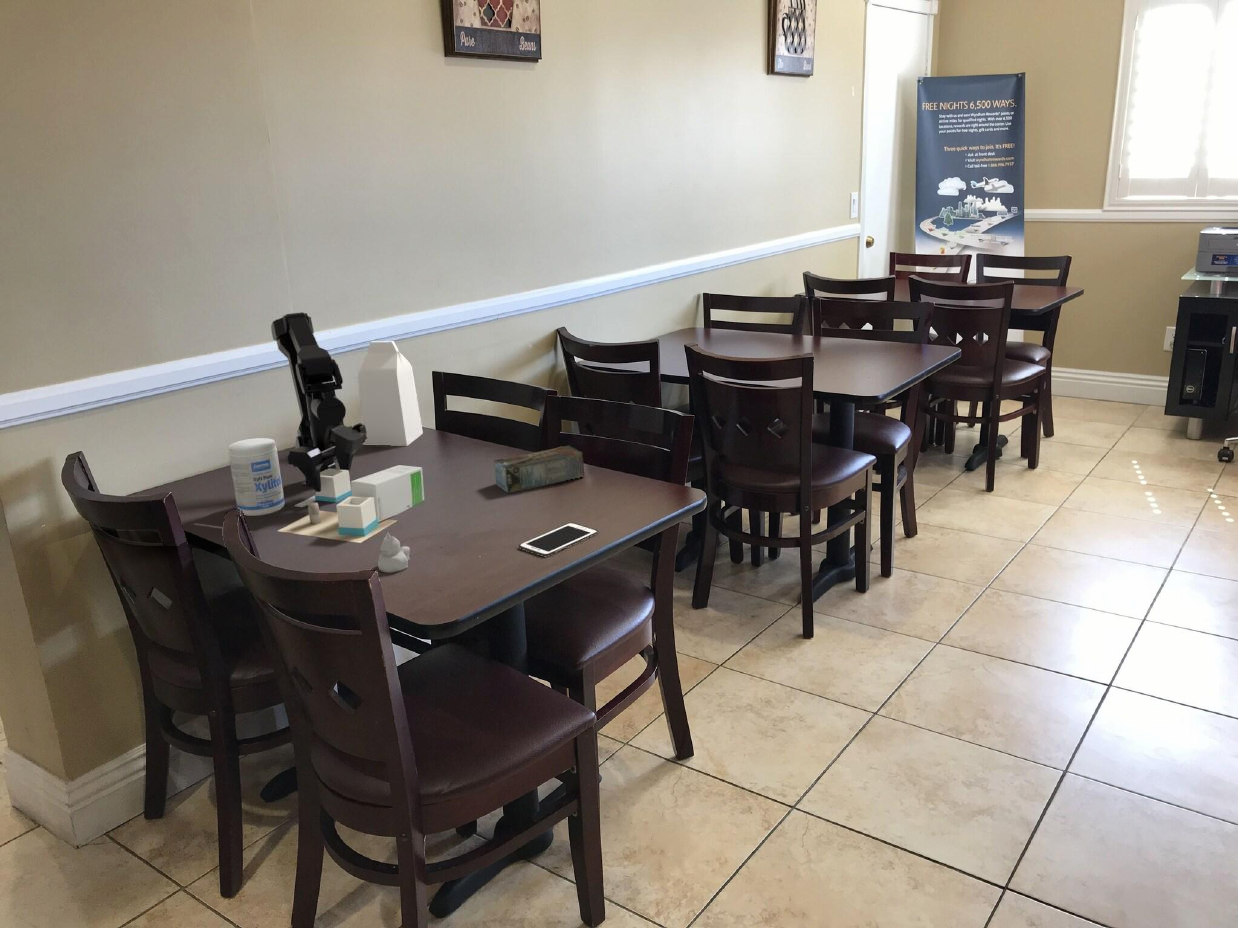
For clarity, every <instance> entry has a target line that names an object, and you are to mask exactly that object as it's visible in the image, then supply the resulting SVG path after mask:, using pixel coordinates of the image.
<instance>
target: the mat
mask: <svg viewBox="0 0 1238 928" xmlns="http://www.w3.org/2000/svg"><path fill="white" fill-rule="evenodd" d="M316 501H317V500H315V495H313V496H310V497H309V498H307V499H305V500H302V501H301V502H299V503H297V504H295V505H294V507H299V508H304V507H305V506H308V504H309V503H313V502H316Z"/></svg>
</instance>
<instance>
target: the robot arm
mask: <svg viewBox="0 0 1238 928" xmlns="http://www.w3.org/2000/svg"><path fill="white" fill-rule="evenodd" d="M270 327H271V335H272V340H273V341H276V345H277V349H278V351H279V352H280V353H282V355H284V357H286V358H287V362H288V366H289V369H290V374H291V378H292V382H293V389H294V391H295V395H296V401H297V404H298V408H299V414H300V418H301V419H300V420H301V421H300V423H299V426H298V428H297V432H296V433H297V436H295V448H293V449H291V450H289V452H288V453H287V454H286V456H287V464H288V465H291V466H292V467H295V468H296V467H297V469H299V471H300V472H301V473H302V474H303V476H304V478H305V481H303V482H301V483H300V485H301V486H305V485H306V486H308V487H312V488H313V489H314V491H315V493H316V492H320V491H321V478H320V472H322V471H324V470H327V469H329V468H331V469H337V468H336V467H337V466H336V463H335V459H334V457H335V458H336V460H337V463H338V466H339V469H340V470H349V474H350V473H351V467H352V463H353V459H354V455H355V453H356V452H357V451H358V450H361V449H362V446H363V443H364V442H365V440H366V439H367V436H366V434H367V432H366V428H365V425H363V424H361V422H359V423H358V422H357V423H356V424H355V425H353V426H352V425H350V426H347V425H345V423H344V419H345V417H346V413H347V412H346V411H347V409H346V407H345V404H344V403H343V402H342V400H340V399H339V398H338V397H337V394H336V390H338V391H339V390H343V386H342V384H343V383H344V382H343V381H344V380H343V376H342V373H341V370H340V367H339V365H338V364H339V363H337V361H336V360H335V359H334V358H333V359H332V357H331V354H330V353H329V351H328V350H327V349H325V348H323V347H320V346H319V344H318V342H317V340H316V337H315V334H314V333H315V332H314V327H313V320H312V317H311V316H309V315H308V313H306V312H302V311H301V312H294V313H286V314H285V315H282V317H280V318H278V319H275V320H273V321H272V323H271V326H270Z"/></svg>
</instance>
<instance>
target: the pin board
mask: <svg viewBox="0 0 1238 928" xmlns="http://www.w3.org/2000/svg"><path fill="white" fill-rule="evenodd" d="M307 509H308V510H307V511H308V514H307V515H306V516H304V517H301V518H300V519H298V520H295V521H294V522H292V523H290V524H288V525H286V526H284V527H283V528H280V529H278V530H277V532H279V533H285V534H295V535H301V536H308V537H314V538H323V539H329V540H338V541H342V542H343V541H344V542H351V543H358V544H361V543H363V542H364V541H366V540H368V539H369V538H371V537H373V536H375V535H376V534H378V533H379V532H382V531H383V530H384V529H387V528H389V527H390V526H392V525H393V524H394V523H397V521H398V520H396V519H390V518H388V519H385V520H383V521H380V522H378V525H379V526H377V527H376V528H375V529H373V530H372V531H371V532H370V533H368V534H367V535H366V536H353V535H339V533H338V527H339V522H338V515H337V512H333V511H326V510H325V511H324V510H320V507H319V503H318V502H316V501H314V502H312V503H309V504H308V505H307Z"/></svg>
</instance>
